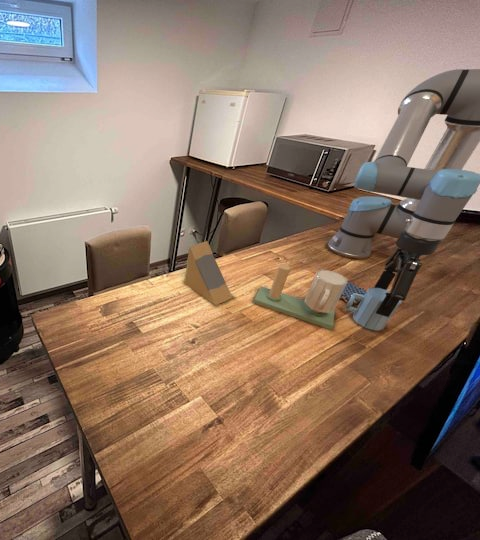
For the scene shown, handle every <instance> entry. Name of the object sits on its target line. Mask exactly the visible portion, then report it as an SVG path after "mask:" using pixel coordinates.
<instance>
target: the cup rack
mask: <svg viewBox="0 0 480 540" xmlns="http://www.w3.org/2000/svg"><path fill="white" fill-rule="evenodd" d="M291 269H292V268H291V267H290V266H289V265H287V264H284V263H283V264H281V263H280V264H279V265H278V268H277V270H276V273H275V275H274V279H273V281H272V284H271V287H270V288H268V287H266V286H259V288H258V291H257V293H256V294H255V297H254V299H253V304H254V305H255V304H256V305H257V306H262V307H264V308H267V309H270V310H273V311H275V312H279V313H282V314H283V315H287V316H289V317H293V318H295V319H299V320H301V321H304V322H307V323H310V324H313V325H316V326H319V327H322V328H324V329H328V330H331V331H332V330H333V328H334V323H335V312H336V309H335V308H334V310H333V311H331V312H328V313H326V312H319V311H316V310H314V309H312V308H310V307H308V306H307V305H306V303H305V302H304V300H305V299H303V298H300V297H296V296H293V295H290V294H288V293H284V292H283V289H284V287H285V285H286V282H287V279H288V276H289V274H290V271H291Z"/></svg>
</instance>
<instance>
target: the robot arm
mask: <svg viewBox="0 0 480 540" xmlns="http://www.w3.org/2000/svg"><path fill="white" fill-rule="evenodd" d="M397 115H398V116H397V117H396V119H395V121H394V123H393V125H392V127H391V128H390V130H389V132H388V134H387V136H386V138H385V139H384V142H383V143H382V146H381V147H380V149H379V151H378V153H377V155H376V156H375V158H374V160H373V161H366V162H364V163H363V164H362V165H361V167H360V169H359V170H358V173H357V175H356V178H355V180H354V183H353V187H354V188H355V189H358V190H362V191H365V192H368V193H376V194H377V193H378V194H382V195H390V196H395V197H401V198H404V199H402V200H401V199H400V201H399V202H398V204H393V202H392V200H391V199H390V198H388V197H384V196H376V195H375V196H372V195H371V196H370V195H369V196H365V195H364V196H359V197H356V198H354V199H353V200H352V202H351V204H350V206H348V208H347V213H346V215H345V216H344V219H343V221H342V224H341V226H340V228H339V229H338V231H337V232H336V233H335V234H334V235H333V236H332V237H331V239H329V241H328V242H327V244H326V245H327V246H326V247H327V249H328V250H329V251H331V252H332V253H333V254H336V255H338V256H341V257H344V258H348V259H354V260H364V259H368V258H369V257H370V256H371V254H372V250H373V249H372V247H373V238H374V237H375V234H379V235H382V236H385V237H390V238H395V239H397V240H396V241H395V245H396V247H397V248H396V250H395V251H394V252H393V253H392V254H391V256H390V257H389V258H388V259H387V260H386V262H385V263H384V266H385V267H384V270H383V271H382V273H381V274H380V277H379V278H378V279H377V281H376V283H375V285H374V287H373V288H381V289H385V290H388V288H389V286H390V285H391V283H392V286H391V288H390V290H389V291H390V293H388V292H387V293H386V294H385V295H386V297H385V298H384V300H383V301H382V303H381V305H380V306H379V308H378V309H377V311H376V314H379V315H383V316H386V317H389V316H390V314H391V313H392V311H393V310H394V308H395V307H396V305H397V304H398V302H399V301H400V300H401V302H402V301H403V302H405V300H406V298H407V297H408V293H409V291H410V289H411V287H412V285H413V282H414V280H415V279H416V276H417V274H418V272H419V270H420V269H421V267H422V266H423V265H422V262H421V259H420V257H421V256H431V255H433V254H435V252H436V251H437V249H438V248H439V246H440V245H441V243H442V240H444V239H445V238H446V236H448V234H449V231H450V230H452V227H453V226H454V224H455V222H456V220H457V218H458V217H459V215H461V213H462V212H463V210H464V208H465V207H466V205H467V204H468V203H469V201H470V200H471V199H472V197H473V195H475V194H476V193H477V192H478V188H479V186H480V173H478V172H474V171H471V170H470V171H469V170H465V169H464V167H465V166H466V164H467V163H468V161H469V159H470V158H471V156H472V154H473V153H474V152H475V150H476V149H477V147H478V145H479V144H480V68H473V69H472V68H471V69H463V68H459V69H458V68H456V69H451V70H447V71H443V72H441V73H438V74H435V75H434V76H431V77H429V78H427V79H425V80H424V81H422V82H420V83H419V84H417V85H416V86H415V87H414V88H412V89H411V90H410V91H409V92H408V93H407V94H406V95H405V96H404V97H403V99H402V100H401V102H400V104H399V106H398V108H397ZM435 115H444V116H446V117H445V119H444V121H443V122H444V124H445V125H446V127H447V128H446V129H445V131H444V132H443V135H442V137H441V138H440V140H439V141H438V144H437V146H436V147H435V149H434V151H433V152H432V155H431V156H430V158H429V160H428V162H427V164H426V165H425V167H424V168H419V167H411V166H408V165H409V163H410V161H411V159H412V156H413V155H414V153H415V151H416V149H417V147H418V145H419V143H420V141H421V138H422V137H423V135H424V133H425V131H426V129H427V127H428V124H429V123H430V121H431V119H432V118H433V117H434V116H435ZM393 279H394V280H393ZM392 281H393V282H392Z"/></svg>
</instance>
